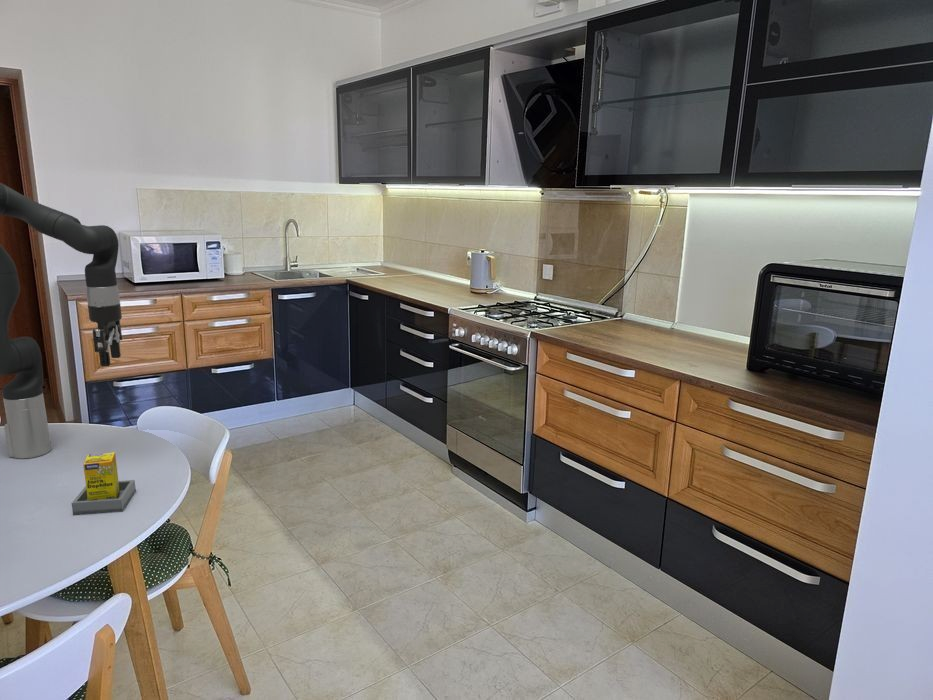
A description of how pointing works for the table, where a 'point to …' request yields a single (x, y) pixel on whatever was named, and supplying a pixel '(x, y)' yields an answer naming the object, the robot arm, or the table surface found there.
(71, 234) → the robot arm
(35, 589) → the table surface
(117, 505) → the holder
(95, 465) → the supplement box
